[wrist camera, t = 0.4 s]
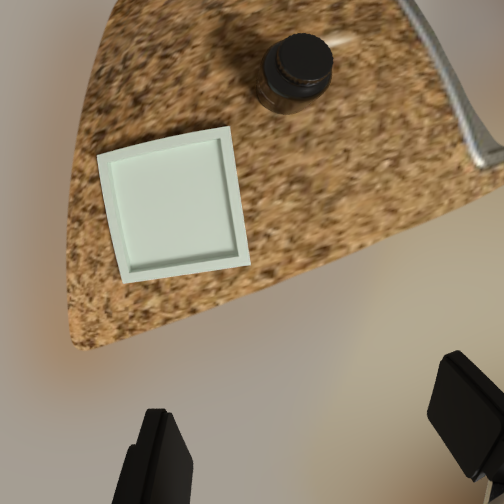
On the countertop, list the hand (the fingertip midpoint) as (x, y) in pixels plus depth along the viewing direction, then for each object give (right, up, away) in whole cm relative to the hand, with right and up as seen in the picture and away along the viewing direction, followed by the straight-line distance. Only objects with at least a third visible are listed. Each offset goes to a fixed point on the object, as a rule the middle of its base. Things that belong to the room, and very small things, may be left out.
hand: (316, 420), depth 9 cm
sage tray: (-11, +11, +27) cm, 31 cm away
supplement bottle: (+2, +25, +24) cm, 34 cm away
